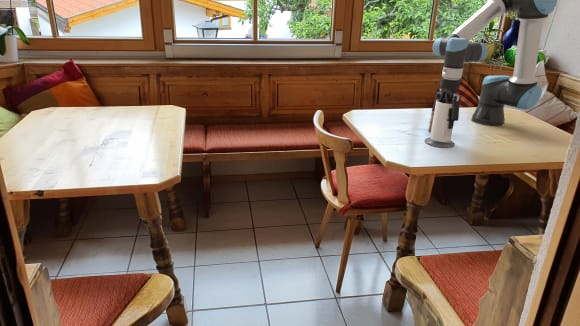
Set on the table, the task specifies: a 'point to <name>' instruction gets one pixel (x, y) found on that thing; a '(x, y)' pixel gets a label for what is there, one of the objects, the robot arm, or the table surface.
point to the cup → (440, 122)
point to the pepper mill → (431, 121)
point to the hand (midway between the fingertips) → (441, 132)
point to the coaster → (439, 143)
